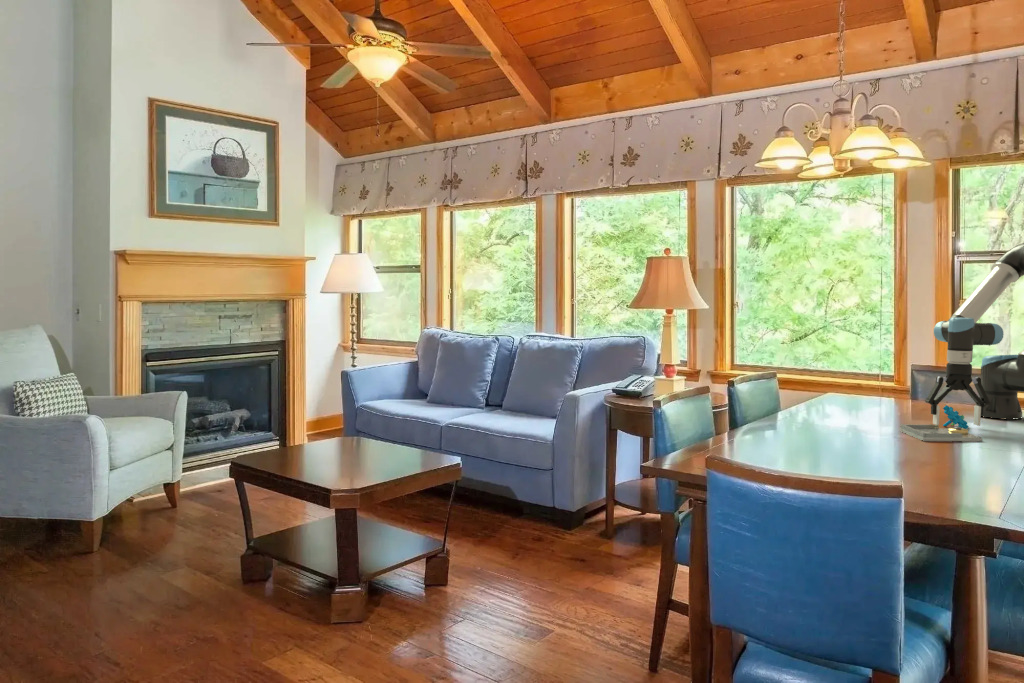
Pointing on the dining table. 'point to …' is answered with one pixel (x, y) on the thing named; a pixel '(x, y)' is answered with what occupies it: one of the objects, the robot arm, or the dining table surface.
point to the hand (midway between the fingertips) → (956, 424)
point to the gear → (954, 418)
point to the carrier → (938, 433)
